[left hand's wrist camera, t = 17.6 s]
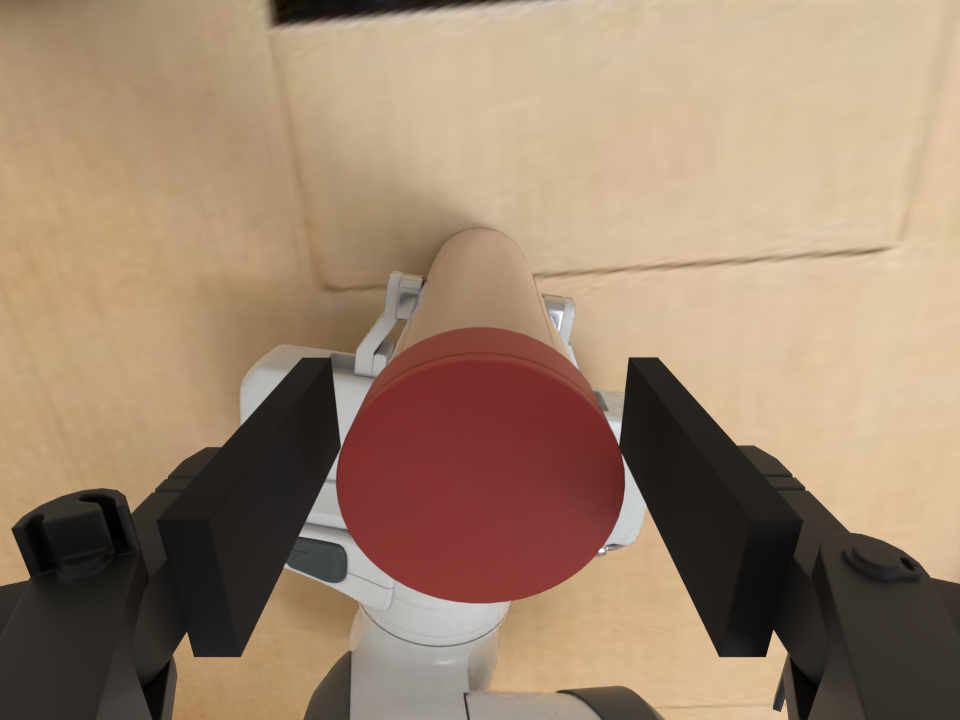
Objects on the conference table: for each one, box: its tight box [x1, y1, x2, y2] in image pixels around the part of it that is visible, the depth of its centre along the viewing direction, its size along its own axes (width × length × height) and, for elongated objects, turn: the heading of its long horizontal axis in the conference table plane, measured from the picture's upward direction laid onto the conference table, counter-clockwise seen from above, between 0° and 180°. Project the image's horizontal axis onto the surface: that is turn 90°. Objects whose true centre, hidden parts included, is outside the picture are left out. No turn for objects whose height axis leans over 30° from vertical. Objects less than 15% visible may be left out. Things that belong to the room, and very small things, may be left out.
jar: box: [387, 228, 573, 365], centre depth 20 cm, size 5×5×20 cm
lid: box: [336, 328, 625, 604], centre depth 11 cm, size 6×6×2 cm
